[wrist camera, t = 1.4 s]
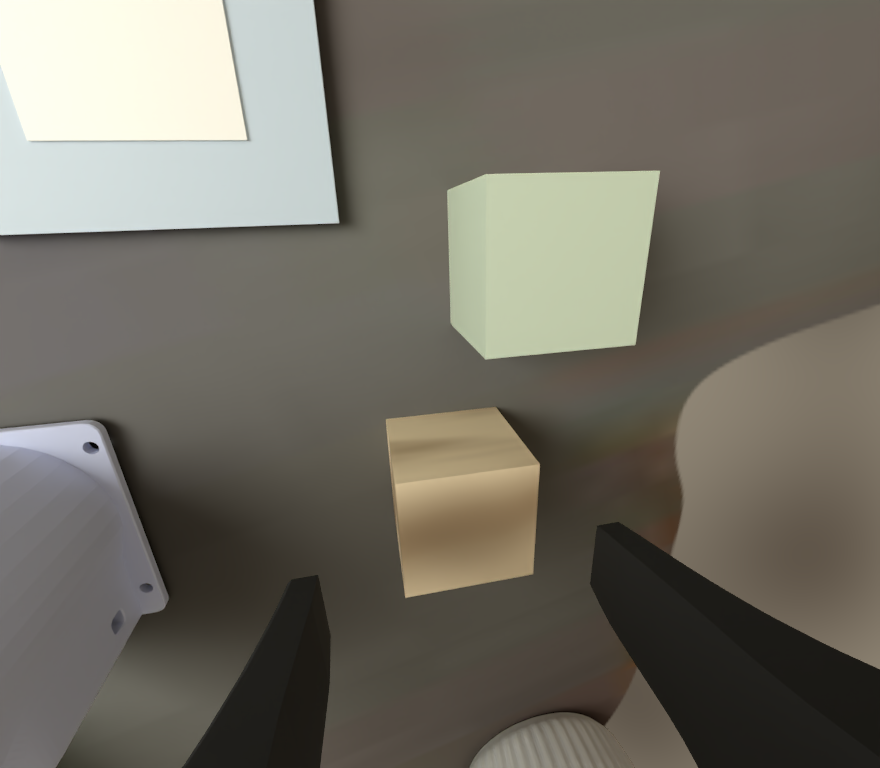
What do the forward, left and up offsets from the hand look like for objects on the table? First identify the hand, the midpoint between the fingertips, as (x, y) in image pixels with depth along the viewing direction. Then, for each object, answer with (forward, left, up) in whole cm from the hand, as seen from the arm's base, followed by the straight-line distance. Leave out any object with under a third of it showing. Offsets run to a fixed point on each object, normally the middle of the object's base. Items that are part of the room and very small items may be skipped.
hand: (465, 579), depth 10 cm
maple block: (-2, -1, -9) cm, 9 cm away
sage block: (+7, -4, -9) cm, 12 cm away
